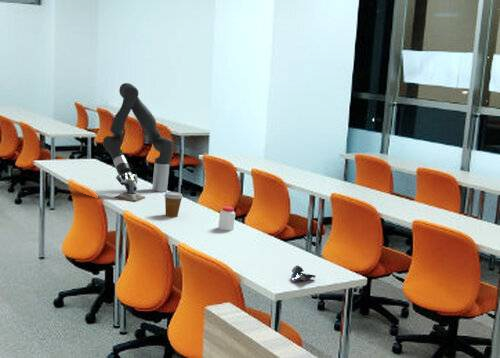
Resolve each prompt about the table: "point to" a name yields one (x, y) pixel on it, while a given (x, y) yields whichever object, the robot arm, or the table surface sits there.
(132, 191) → the plug
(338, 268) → the table surface
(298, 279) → the black spring clamp
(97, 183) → the table surface
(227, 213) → the pill bottle
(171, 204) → the disposable coffee cup
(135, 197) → the socket plate
